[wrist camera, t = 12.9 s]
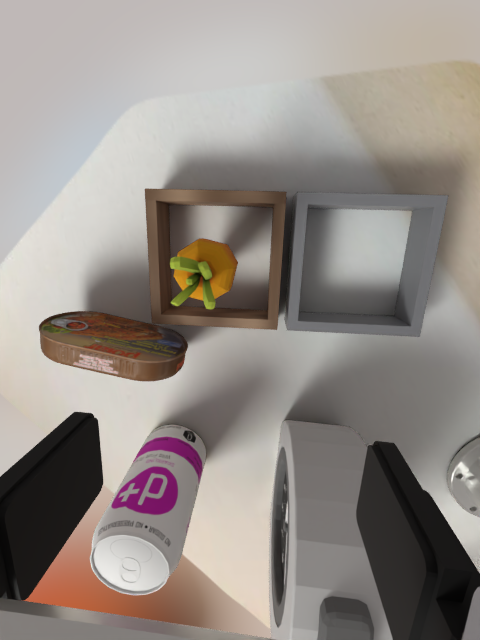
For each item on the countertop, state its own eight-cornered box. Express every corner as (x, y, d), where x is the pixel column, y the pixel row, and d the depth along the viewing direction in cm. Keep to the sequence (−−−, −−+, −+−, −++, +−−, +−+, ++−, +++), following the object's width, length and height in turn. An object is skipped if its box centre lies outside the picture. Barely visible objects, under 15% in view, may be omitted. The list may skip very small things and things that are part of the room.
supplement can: (148, 416, 39) (82, 521, 25) (210, 427, 39) (180, 539, 25) (144, 467, 42) (82, 590, 27) (203, 477, 41) (172, 607, 27)
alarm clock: (284, 395, 37) (307, 564, 18) (346, 401, 37) (435, 580, 18) (267, 528, 43) (271, 761, 24) (320, 535, 43) (367, 776, 24)
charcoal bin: (424, 200, 30) (448, 195, 26) (401, 325, 34) (419, 336, 30) (293, 197, 31) (297, 192, 27) (284, 319, 35) (287, 330, 31)
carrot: (246, 279, 34) (235, 314, 19) (203, 285, 34) (160, 323, 20) (240, 233, 32) (223, 234, 18) (195, 240, 33) (143, 245, 18)
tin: (195, 334, 36) (176, 363, 28) (190, 358, 37) (170, 392, 29) (72, 305, 36) (17, 325, 28) (70, 329, 37) (17, 356, 29)
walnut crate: (283, 197, 31) (286, 191, 27) (275, 319, 35) (277, 329, 31) (159, 194, 32) (144, 188, 28) (163, 313, 35) (151, 323, 32)
